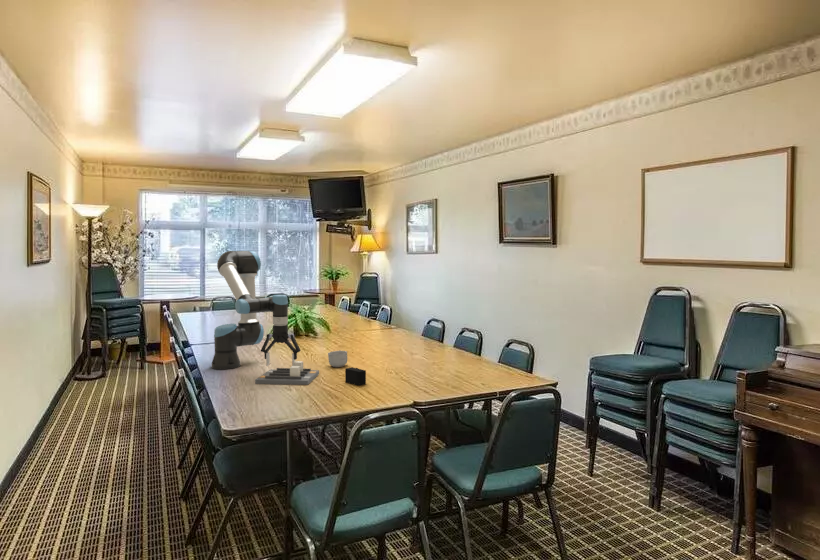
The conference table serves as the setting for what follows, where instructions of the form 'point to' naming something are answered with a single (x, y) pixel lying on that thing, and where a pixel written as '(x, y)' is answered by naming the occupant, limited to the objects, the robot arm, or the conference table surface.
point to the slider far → (299, 364)
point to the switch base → (287, 377)
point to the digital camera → (355, 376)
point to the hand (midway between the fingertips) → (280, 365)
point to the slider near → (295, 371)
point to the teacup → (337, 358)
